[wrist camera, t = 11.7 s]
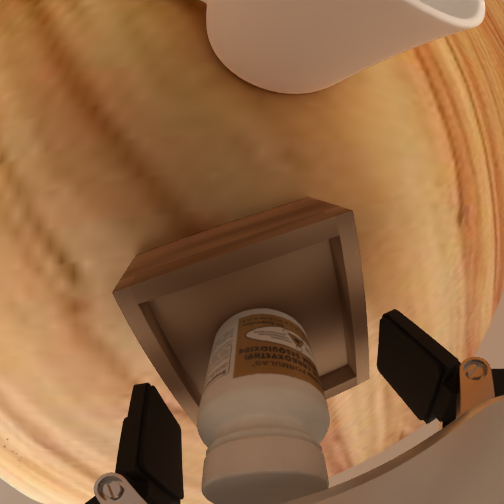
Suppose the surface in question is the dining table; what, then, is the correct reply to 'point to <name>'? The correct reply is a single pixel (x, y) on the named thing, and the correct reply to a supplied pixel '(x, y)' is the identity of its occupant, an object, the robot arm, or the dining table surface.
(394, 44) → the mug
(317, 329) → the walnut box
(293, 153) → the dining table surface
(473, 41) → the dining table surface
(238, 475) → the pill bottle
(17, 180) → the dining table surface
